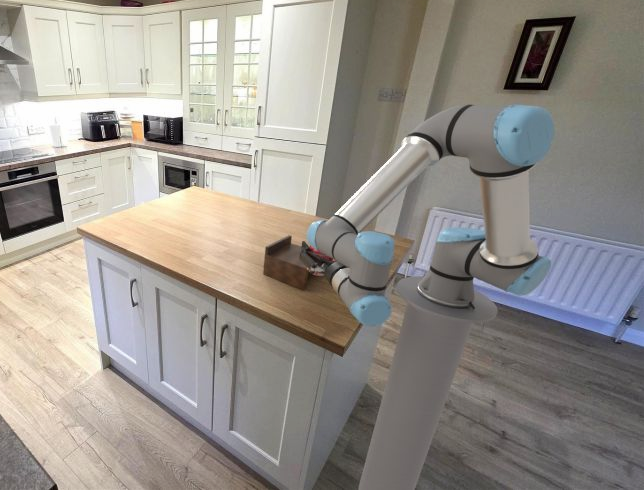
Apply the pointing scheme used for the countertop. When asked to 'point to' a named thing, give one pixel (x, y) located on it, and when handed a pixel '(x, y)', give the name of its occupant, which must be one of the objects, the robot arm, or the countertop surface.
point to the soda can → (320, 256)
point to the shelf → (285, 263)
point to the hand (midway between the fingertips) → (315, 245)
